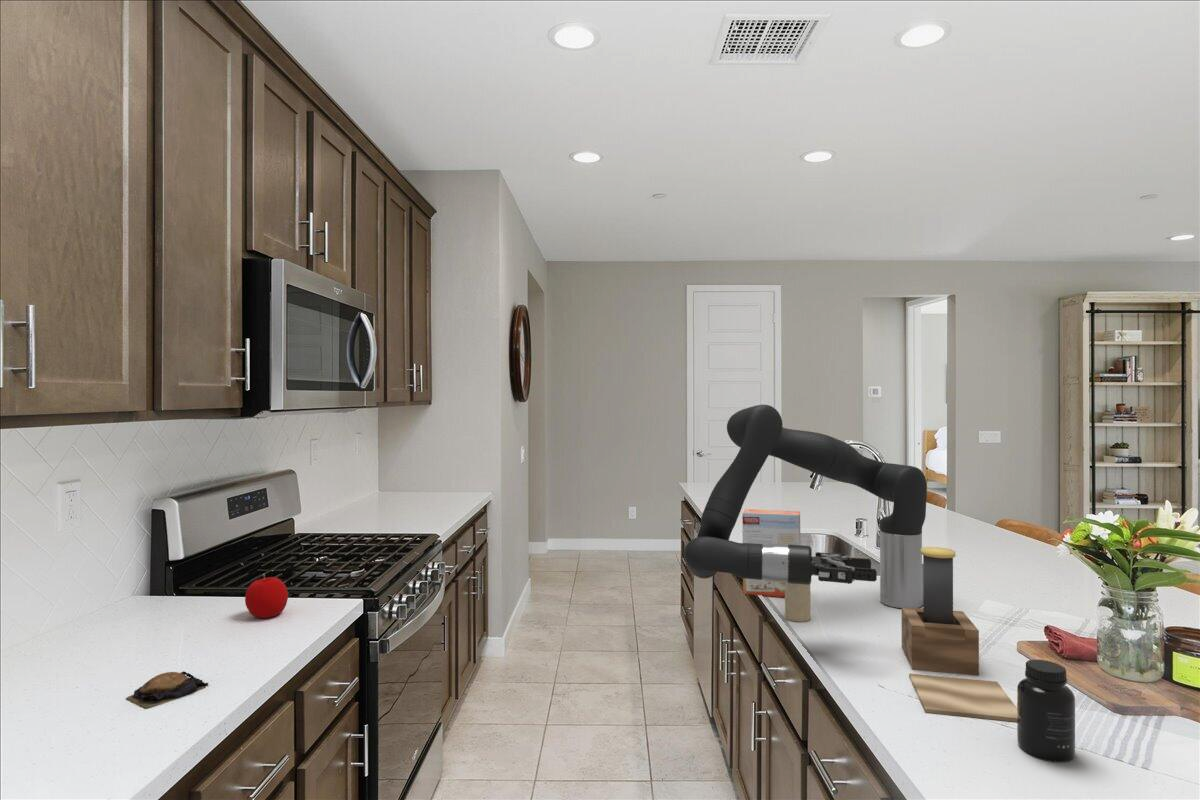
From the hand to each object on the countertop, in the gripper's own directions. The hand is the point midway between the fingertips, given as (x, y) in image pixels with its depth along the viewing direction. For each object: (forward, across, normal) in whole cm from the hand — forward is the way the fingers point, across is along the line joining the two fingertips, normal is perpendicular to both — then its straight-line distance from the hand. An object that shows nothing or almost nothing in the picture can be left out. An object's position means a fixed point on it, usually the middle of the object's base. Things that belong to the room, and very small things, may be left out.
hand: (873, 569), depth 130 cm
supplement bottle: (+19, -31, +17) cm, 40 cm away
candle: (-13, +19, +17) cm, 29 cm away
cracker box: (-19, +37, +17) cm, 45 cm away
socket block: (+12, 0, +16) cm, 20 cm away
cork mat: (+12, -16, +16) cm, 26 cm away
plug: (+12, 0, +10) cm, 15 cm away
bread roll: (-118, -47, +20) cm, 128 cm away
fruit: (-131, -8, +19) cm, 133 cm away
